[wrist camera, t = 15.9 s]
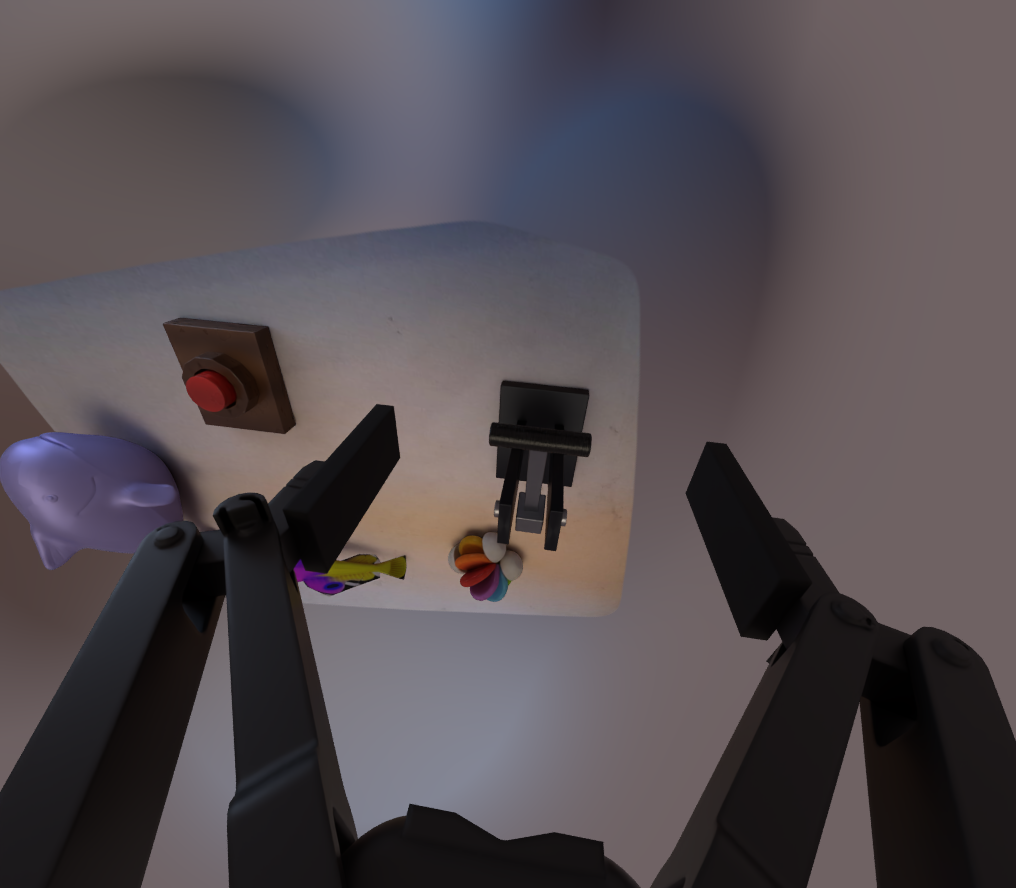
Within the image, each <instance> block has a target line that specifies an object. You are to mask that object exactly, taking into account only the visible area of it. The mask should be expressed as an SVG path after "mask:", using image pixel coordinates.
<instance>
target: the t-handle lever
mask: <svg viewBox="0 0 1016 888" xmlns="http://www.w3.org/2000/svg"><path fill="white" fill-rule="evenodd" d="M591 442H592V436H591V434H590V433H582V432H573V431H565V430H556V429H547V428H539V427H530V426H521V425H513V424H504V423H495V422H493V423H492V424H491V428H490V435H489V444H490V446H497V447H506V448H514V449H522V450H529V460H528V471H527V482H526V493H525V492H520V493H519V500H518V507H517V514H516V527H515V530H516V531H522V532H530V533H537V534H541V530H542V525H543V520H544V509H545V499H546V496H545V495H541V494H540V493H541V487H542V481H543V475H544V469H545V463H546V457H547V453H556V454H564V455H573V456H581V457H588V456H589V454H590V450H591Z"/></svg>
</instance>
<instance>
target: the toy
mask: <svg viewBox="0 0 1016 888" xmlns="http://www.w3.org/2000/svg"><path fill="white" fill-rule="evenodd" d="M294 571H295V574H296V578H297V582H301V581H304V583H305V584H306V585H307V587H309V588H311V589H314V590H316V591H318V592H320V593H323V594H325V595H327V596H332V595H335V594H337V593H340V592H342V591H345V590H348V589H350V588H353V587H355V586H358V585H361V584H364V583H367V582H370V581H372V580H375V579H378V578H380V573H383V574H386V575H389V576H393V577H396V578H399V579H403V580H404V577H405V572H406V556H401V557H398V558H395V559H391V560H388V561H385V562H382V563H381V562H380V560H379V559H378V557H377V556H376V555H370V554H358V555H356V556H353V557H350V558H348V559H345V560H342V561H338V560H336V561H335V562H334V564H333V565H332V567H331V568H330V570H329V572H328V573H327V574H324V573H318V572H311V571H305V569H304V567H303V564H302V561H301V559H300V561H299V562H298V563H297V565H296V566H295V567H294Z"/></svg>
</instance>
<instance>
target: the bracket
mask: <svg viewBox="0 0 1016 888" xmlns="http://www.w3.org/2000/svg"><path fill="white" fill-rule="evenodd" d="M588 399H589V390H586V389H576V388H567V387H557V386H548V385H539V384H529V383H520V382H511V381H502V384H501V391H500V410H499V423H504V424H513V425H521V426H530V427H539V428H547V429H556V430H565V431H573V432H582V430H583V425H584V420H585V414H586V409H587V404H588ZM528 460H529V450H522V449H514V448H506V447H498V448H497V467H496V478H504V479H505V480H504V484H503V489H502V493H501V498H500V501H498V500H496V503H495V509H494V517H498V532H497V543H501V544H509V539H510V532H511V526H512V520H513V514H514V508H515V502H516V496H517V490H518V484H519V480H520V481H527V471H528ZM576 461H577V456H573V455H564V454H556V453H547V457H546V463H545V469H544V475H543V481H542V483H544V484H548V497H547V513H546V529H545V545H544V549H545V550H551V551H556V549H557V544H558V538H559V533H560V528H561V526H565V525H566V519H567V510H566V509H563V493H564V486H567V487H571V486H572V482H573V477H574V471H575V466H576Z"/></svg>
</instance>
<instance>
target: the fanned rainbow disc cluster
mask: <svg viewBox="0 0 1016 888" xmlns="http://www.w3.org/2000/svg"><path fill="white" fill-rule="evenodd" d="M448 561H449V565H450V567H451V568H452V569H453V570H454V571H455V572H457V573H461V574H464V573H465V574H464V575H463V576H462V577H461V579H460V583H461V585H462V586H463V587H470V593H471V595H472V596H473V598H475V599H476V600H479V601H483V600H486V599H487V600H489V601H492V602H496V601H500V600H501V599H502V598H503V597H504V596H505V594H506V592H507V589H508V585H509V584H510V583H511V581H513V580H516V579H517V578H518V577H519V576H520V575H521V573H522V570H523V562H522V560H521V558H520V556H519V555H518V554H517V553H515V552H513V551H506V544H501V543H497V533H494V532H488V533H486V534H485V535H484V536H483V539H482V538H480V537H478V536H466V537H465V538H464V539H463V540H462V541H461V542H460V544H458V545H456V546H454V547H453V548H452V549H451V551H450V553H449V556H448Z"/></svg>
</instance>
